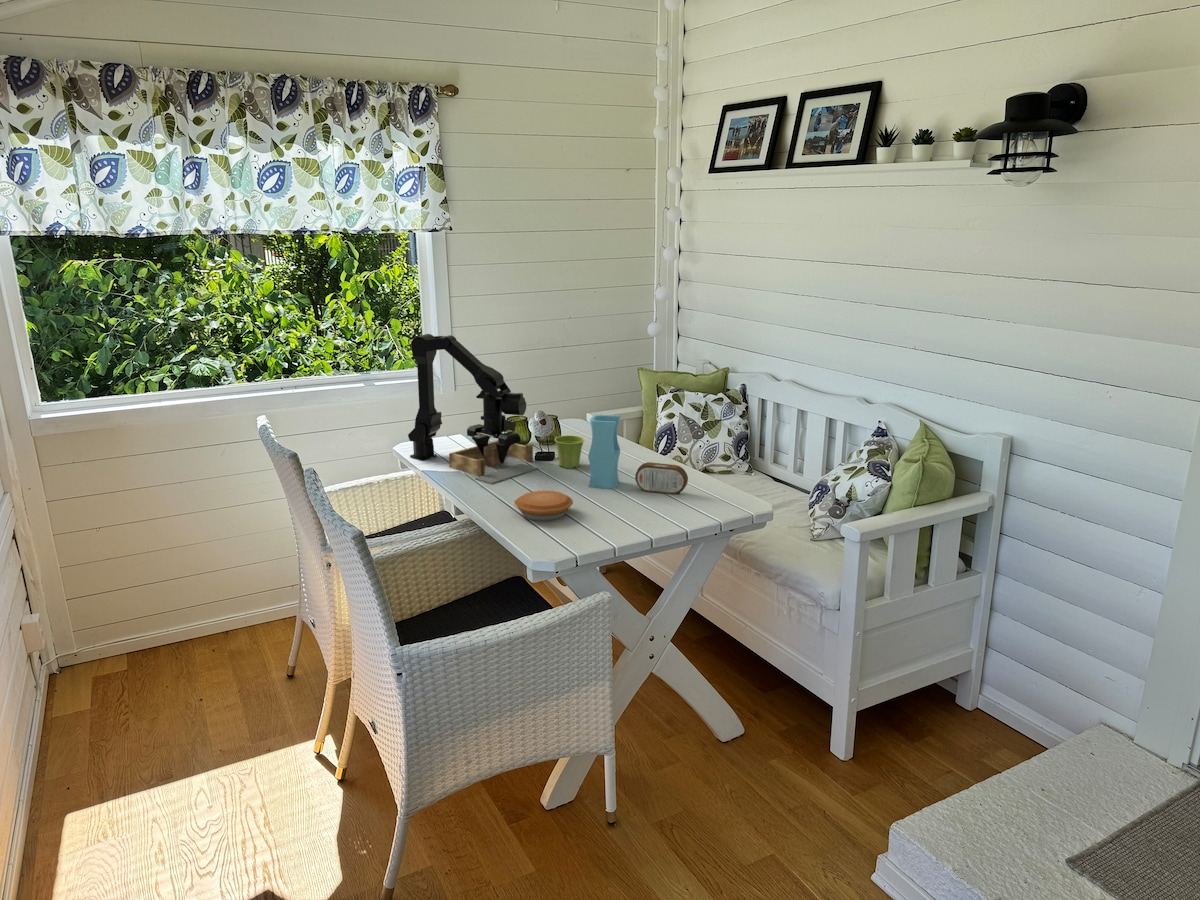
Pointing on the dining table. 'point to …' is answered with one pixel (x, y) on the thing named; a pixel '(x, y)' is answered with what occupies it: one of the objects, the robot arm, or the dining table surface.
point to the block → (491, 456)
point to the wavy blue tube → (604, 452)
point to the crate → (475, 462)
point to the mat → (506, 473)
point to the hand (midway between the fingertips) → (494, 460)
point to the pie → (543, 505)
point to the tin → (661, 478)
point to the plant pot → (569, 450)
